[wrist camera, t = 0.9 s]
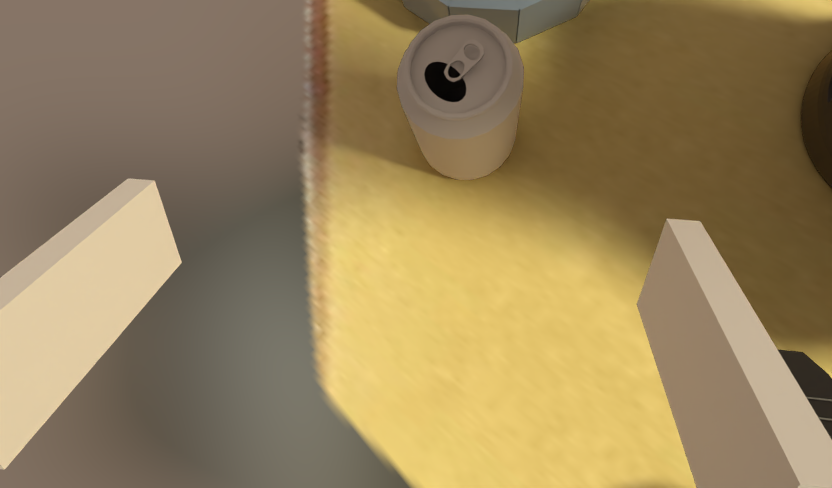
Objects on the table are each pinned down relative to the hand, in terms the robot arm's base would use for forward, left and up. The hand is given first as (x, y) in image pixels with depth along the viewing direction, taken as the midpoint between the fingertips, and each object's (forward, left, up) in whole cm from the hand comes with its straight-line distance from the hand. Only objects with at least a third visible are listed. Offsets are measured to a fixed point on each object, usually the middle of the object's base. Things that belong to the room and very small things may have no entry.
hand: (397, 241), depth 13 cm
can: (-5, -11, -26) cm, 28 cm away
